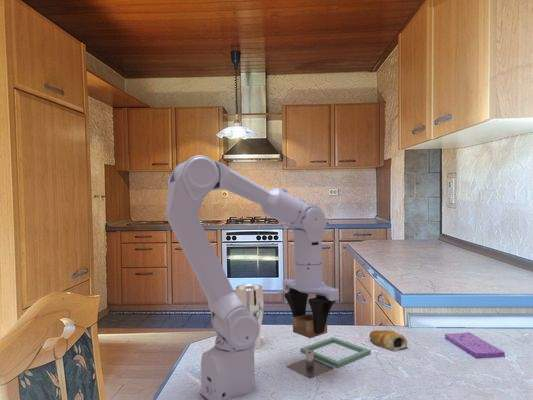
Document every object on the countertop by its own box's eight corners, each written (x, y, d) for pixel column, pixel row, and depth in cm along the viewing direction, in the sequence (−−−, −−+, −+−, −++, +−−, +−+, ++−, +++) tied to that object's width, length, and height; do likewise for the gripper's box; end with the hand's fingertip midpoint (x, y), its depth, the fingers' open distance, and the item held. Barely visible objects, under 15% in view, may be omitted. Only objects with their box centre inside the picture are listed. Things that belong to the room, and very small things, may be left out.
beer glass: (251, 357, 83) (251, 291, 83) (229, 350, 87) (228, 287, 88) (269, 347, 89) (269, 286, 89) (248, 341, 93) (247, 282, 93)
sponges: (470, 339, 93) (470, 332, 93) (506, 359, 81) (505, 351, 81) (443, 340, 93) (443, 333, 93) (476, 361, 80) (475, 352, 80)
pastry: (362, 341, 93) (362, 325, 93) (383, 336, 95) (382, 322, 95) (389, 354, 84) (388, 337, 84) (410, 349, 87) (410, 333, 87)
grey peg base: (310, 384, 70) (309, 361, 70) (286, 372, 75) (285, 350, 75) (334, 373, 74) (333, 352, 74) (310, 362, 80) (309, 342, 80)
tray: (337, 373, 74) (337, 364, 74) (300, 357, 83) (300, 348, 83) (370, 359, 81) (370, 350, 81) (333, 345, 89) (332, 337, 89)
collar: (310, 338, 71) (309, 323, 72) (292, 331, 75) (292, 317, 75) (327, 332, 75) (327, 318, 75) (310, 326, 78) (309, 312, 79)
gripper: (348, 264, 72) (350, 333, 72) (298, 257, 83) (299, 317, 83) (324, 269, 68) (325, 342, 67) (274, 261, 79) (275, 323, 79)
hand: (309, 329), depth 75 cm, fingers closed on collar, 5 cm apart
